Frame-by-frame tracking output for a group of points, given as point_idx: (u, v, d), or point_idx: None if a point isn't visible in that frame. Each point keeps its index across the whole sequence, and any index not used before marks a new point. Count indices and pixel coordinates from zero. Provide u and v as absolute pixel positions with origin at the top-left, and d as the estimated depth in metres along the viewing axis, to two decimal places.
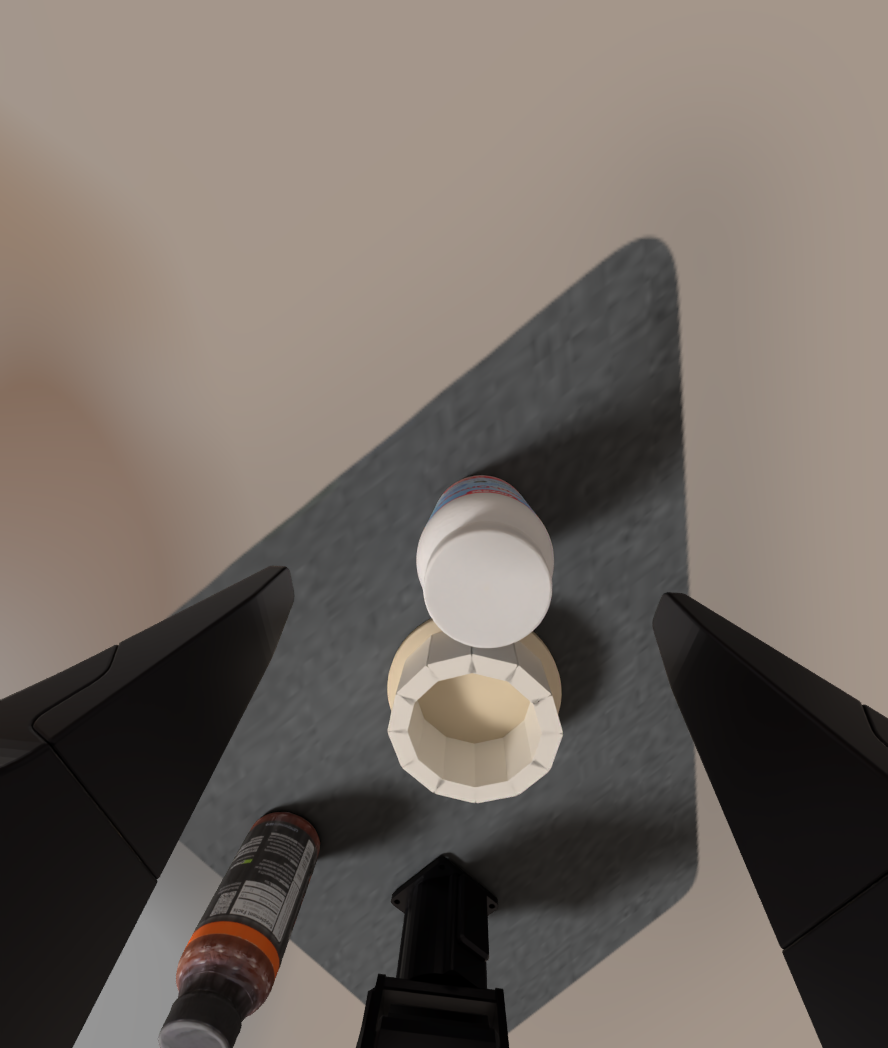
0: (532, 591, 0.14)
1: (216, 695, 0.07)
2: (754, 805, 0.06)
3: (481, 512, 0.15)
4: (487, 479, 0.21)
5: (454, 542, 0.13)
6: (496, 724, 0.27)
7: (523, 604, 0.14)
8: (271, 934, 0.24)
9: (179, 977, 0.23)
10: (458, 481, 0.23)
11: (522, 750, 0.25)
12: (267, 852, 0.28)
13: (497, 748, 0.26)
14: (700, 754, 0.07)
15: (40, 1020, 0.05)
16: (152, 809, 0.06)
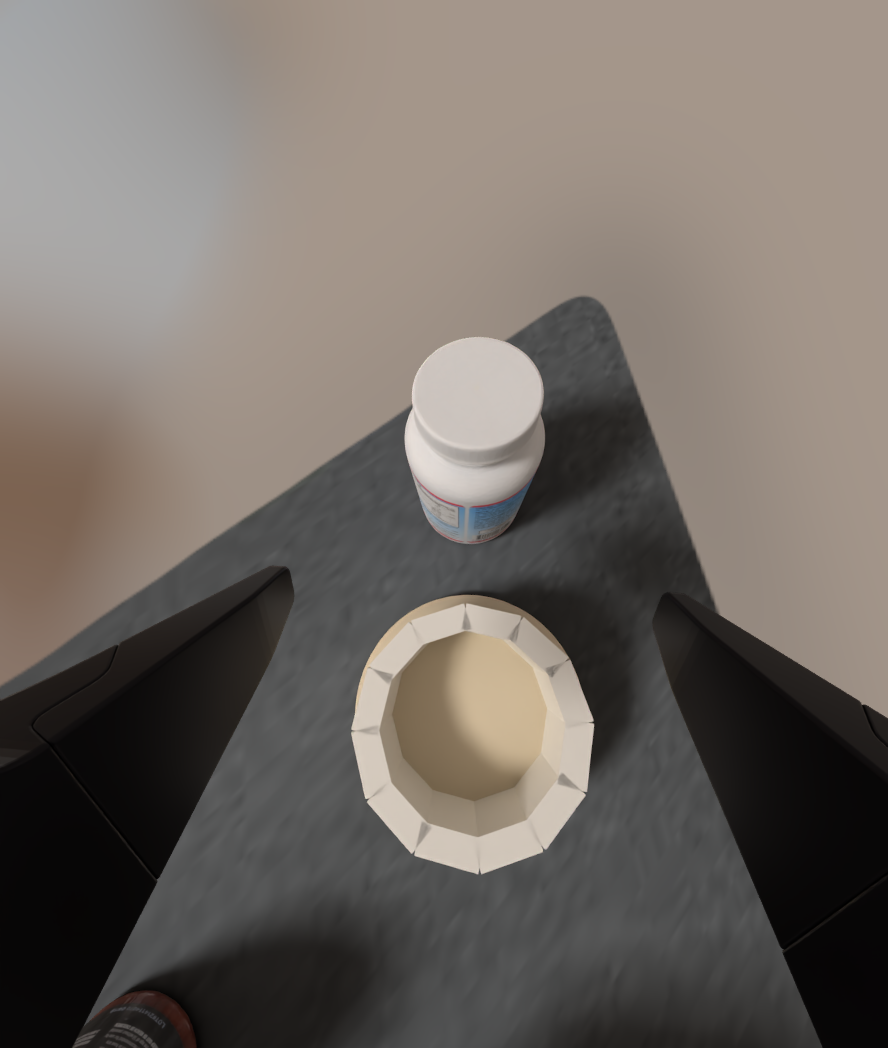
0: (523, 387, 0.13)
1: (216, 695, 0.07)
2: (754, 805, 0.06)
3: None
4: None
5: (444, 347, 0.14)
6: (503, 762, 0.19)
7: (515, 400, 0.13)
8: None
9: None
10: None
11: (543, 778, 0.17)
12: None
13: (507, 797, 0.18)
14: (700, 754, 0.07)
15: (40, 1020, 0.05)
16: (152, 809, 0.06)
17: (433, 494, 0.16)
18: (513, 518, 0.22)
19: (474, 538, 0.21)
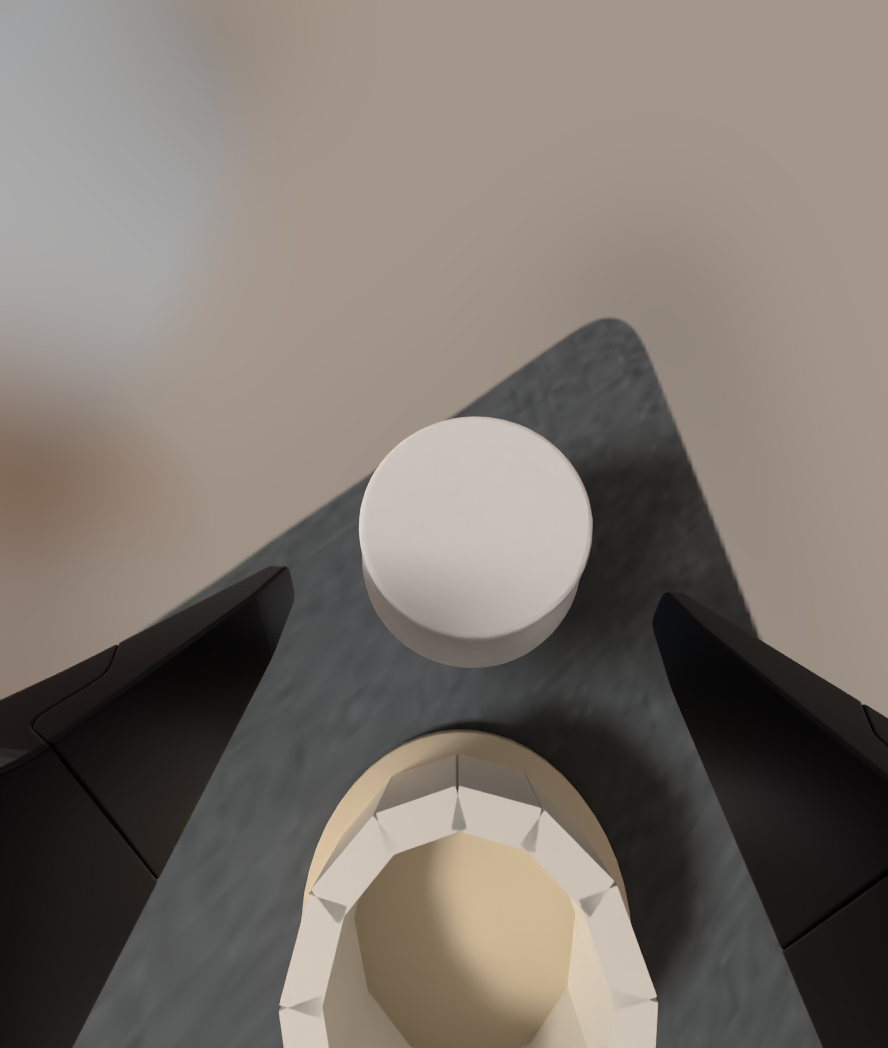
0: (556, 513, 0.07)
1: (216, 695, 0.07)
2: (754, 805, 0.06)
3: None
4: None
5: (416, 435, 0.08)
6: (513, 1002, 0.13)
7: (543, 539, 0.07)
8: None
9: None
10: None
11: None
12: None
13: None
14: (700, 754, 0.07)
15: (40, 1020, 0.05)
16: (152, 809, 0.06)
17: None
18: None
19: None
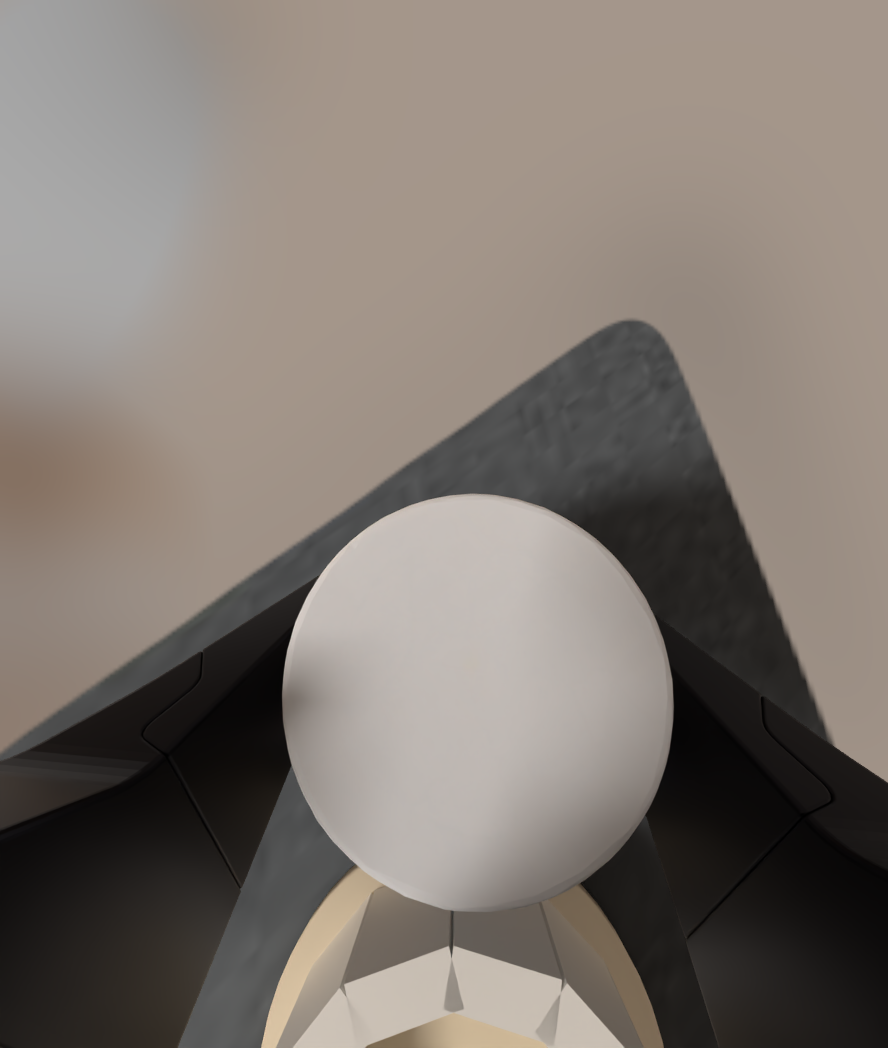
0: (611, 670, 0.04)
1: None
2: (664, 797, 0.06)
3: None
4: None
5: (381, 526, 0.05)
6: None
7: (590, 718, 0.04)
8: None
9: None
10: None
11: None
12: None
13: None
14: None
15: (149, 1034, 0.05)
16: (239, 818, 0.06)
17: None
18: None
19: None
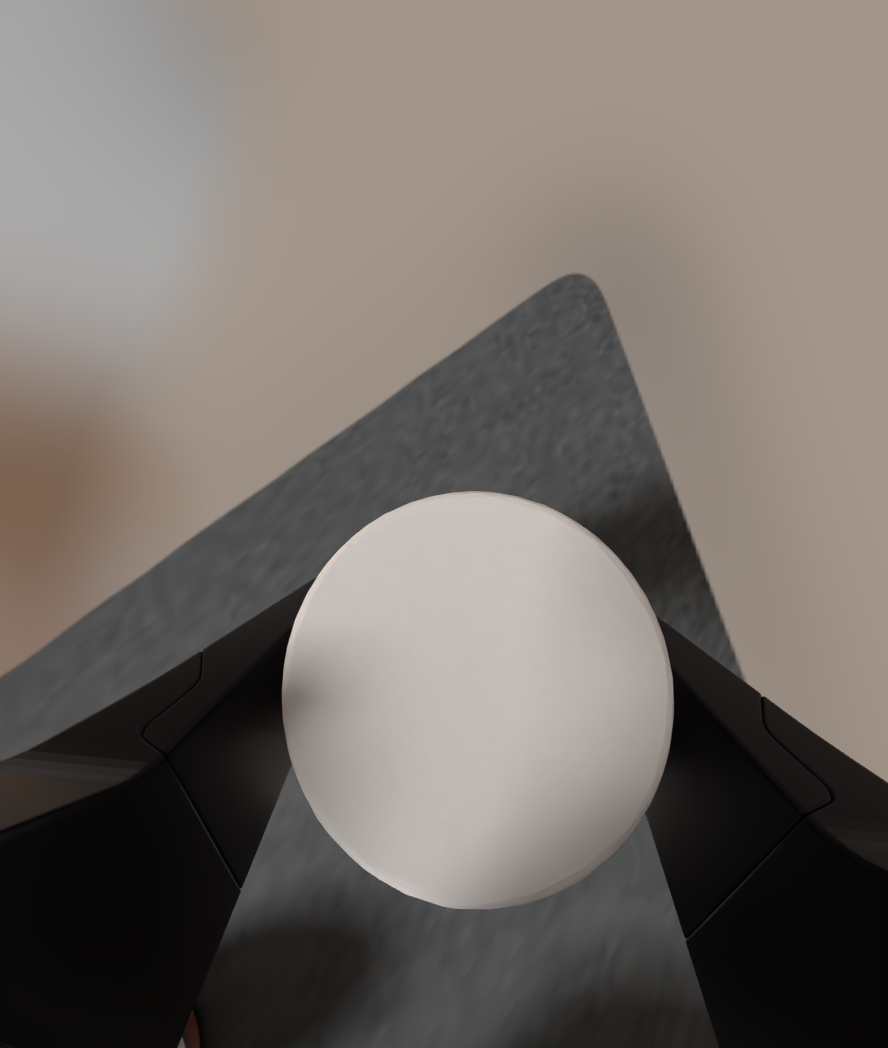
0: (612, 667, 0.04)
1: None
2: (665, 797, 0.06)
3: None
4: None
5: (381, 524, 0.05)
6: None
7: (590, 715, 0.04)
8: None
9: None
10: None
11: None
12: None
13: None
14: None
15: (149, 1035, 0.05)
16: (239, 818, 0.06)
17: None
18: None
19: None
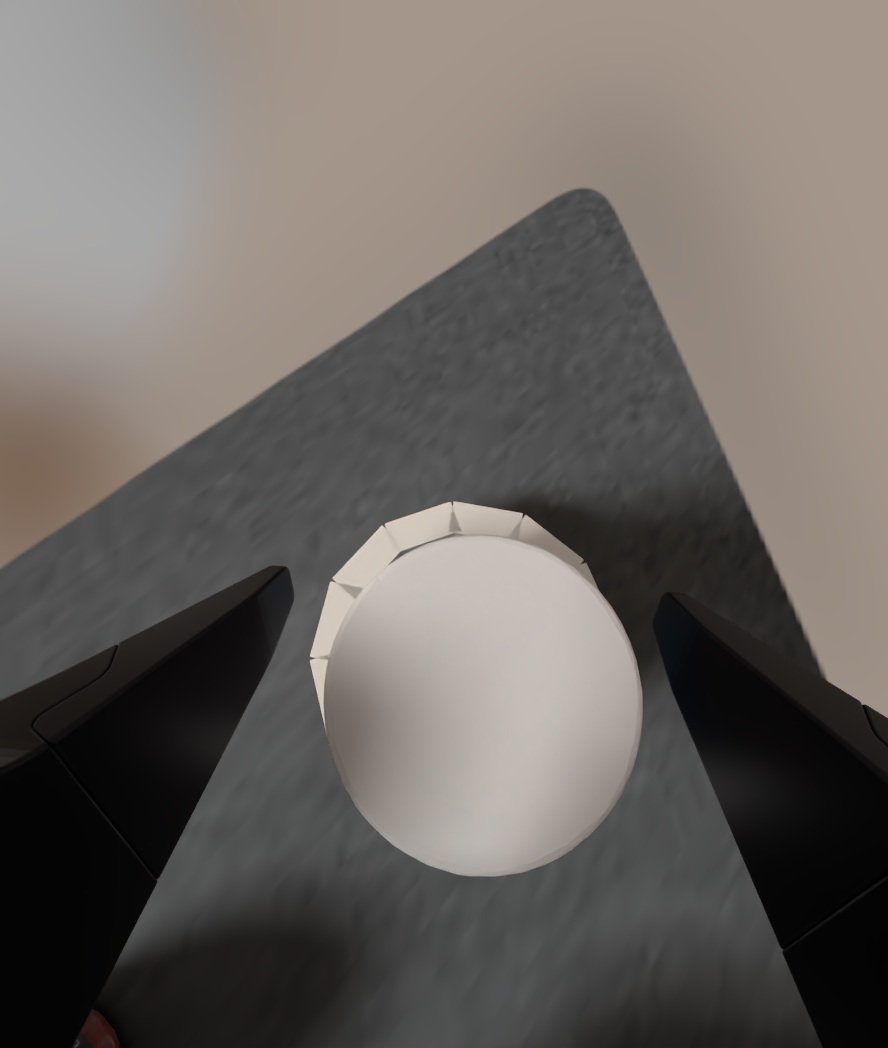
0: (593, 683, 0.05)
1: (216, 695, 0.07)
2: (754, 805, 0.06)
3: None
4: None
5: (403, 562, 0.06)
6: None
7: (576, 722, 0.05)
8: None
9: None
10: None
11: None
12: None
13: None
14: (700, 754, 0.07)
15: (40, 1020, 0.05)
16: (152, 809, 0.06)
17: None
18: None
19: None
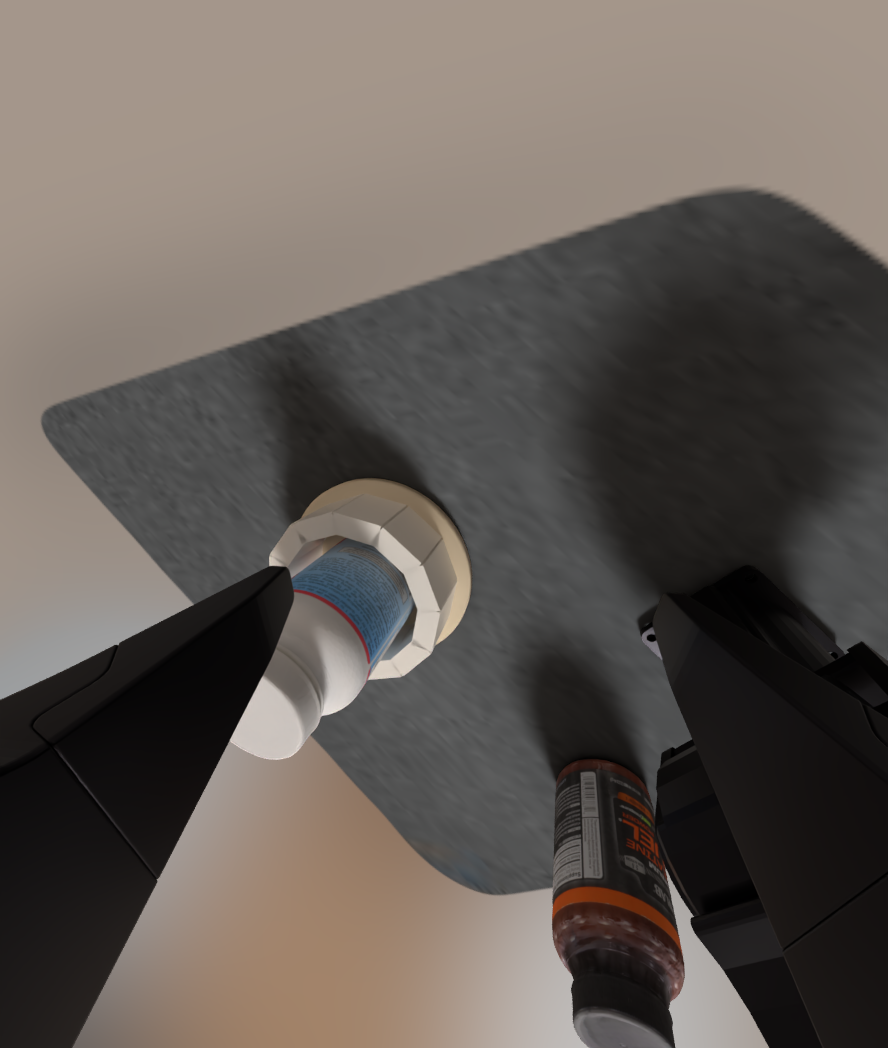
0: None
1: (216, 695, 0.07)
2: (754, 805, 0.06)
3: None
4: None
5: None
6: None
7: None
8: (583, 879, 0.19)
9: None
10: None
11: None
12: (555, 822, 0.24)
13: None
14: (700, 754, 0.07)
15: (40, 1020, 0.05)
16: (152, 809, 0.06)
17: (360, 690, 0.17)
18: None
19: None
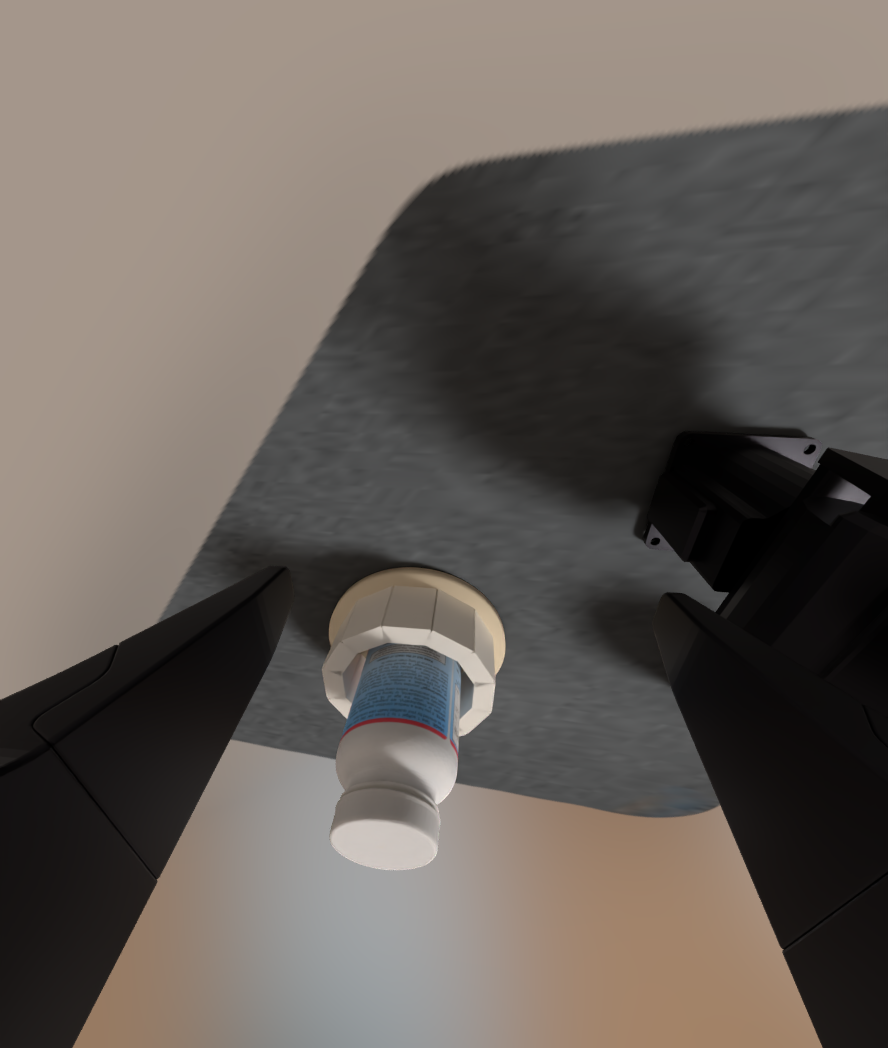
0: (355, 831, 0.16)
1: (216, 695, 0.07)
2: (754, 805, 0.06)
3: None
4: None
5: None
6: None
7: (368, 831, 0.16)
8: None
9: None
10: None
11: None
12: None
13: None
14: (700, 754, 0.07)
15: (40, 1020, 0.05)
16: (152, 809, 0.06)
17: (457, 759, 0.19)
18: None
19: None
